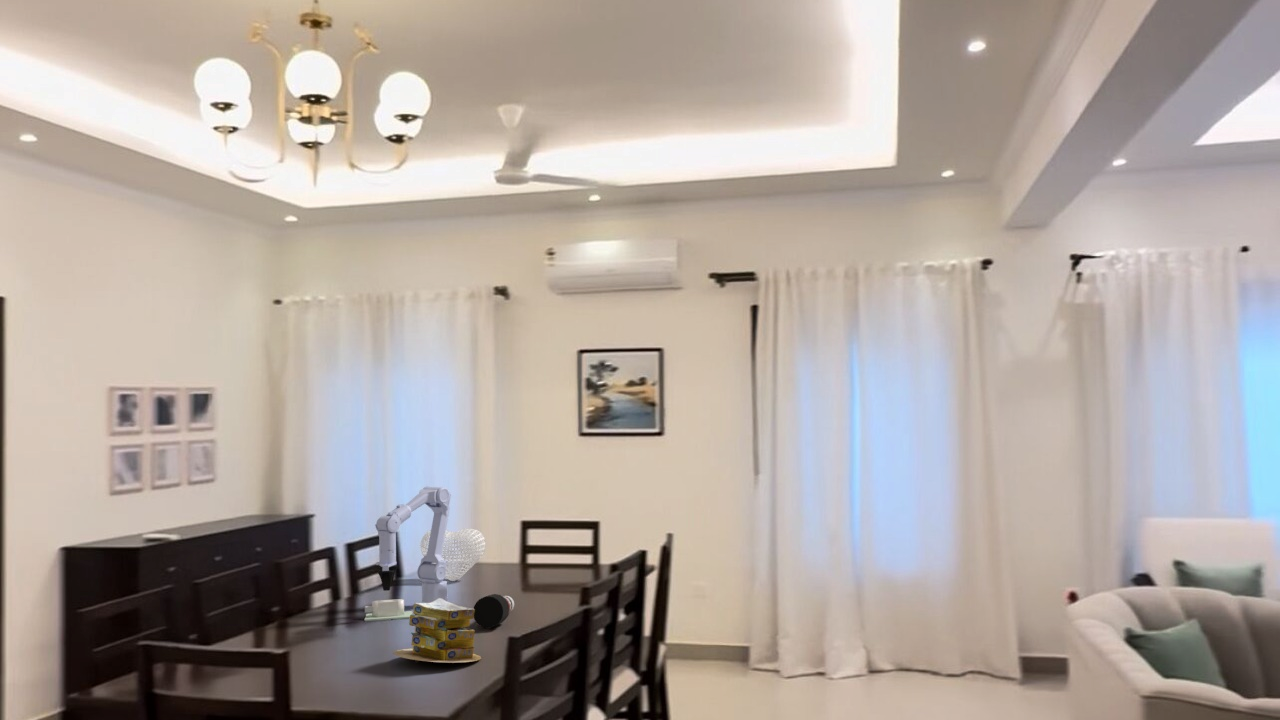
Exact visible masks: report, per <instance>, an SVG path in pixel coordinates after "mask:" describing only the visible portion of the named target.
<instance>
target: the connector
mask: <svg viewBox="0 0 1280 720" xmlns="http://www.w3.org/2000/svg"><path fill="white" fill-rule="evenodd" d="M404 611H405V599H403V598H400V599H399V598H398V599H383V600H381V599H379V600H372V601H371V605H365V606H364V613H365V614H369V613H371V614H372V617H385V616H400V615H404Z"/></svg>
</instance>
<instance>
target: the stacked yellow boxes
mask: <svg viewBox="0 0 1280 720" xmlns="http://www.w3.org/2000/svg"><path fill="white" fill-rule="evenodd" d="M412 608H413V610H412V615H410V618H409V622H408V623H409V626H412V627H414V632H410V634H411V636H412V639H411V646H412V648H403V649H397V650H395V651H393V652H392V653H393V655H395V656H396V657H400V658H403V659H408V660H413V661H414V660H415V662H416V664H418V662H419V661H422V662H431V663H432V662H433V663H449V664H450V663H452V664H454V663H470V662H471V663H472V662H477V661H480V660H481V659H482V657H481V655H478V654H475V653H474V651H475V646H474V642H475V641H474V640H475V638H474V637H475V629H471V628H469V627H470V625H471V624H470V623H471V620H473V619H474V611H475V609H474V607H473V608H471V607H469V606H468V607H467V606H466V607H465V606H462V605H458V604H455V603H452V602H450V601H446V600H444V599H441V598H438V599H437V600H435V601H433V602H428V603H422V602H414V604H413V607H412Z"/></svg>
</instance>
